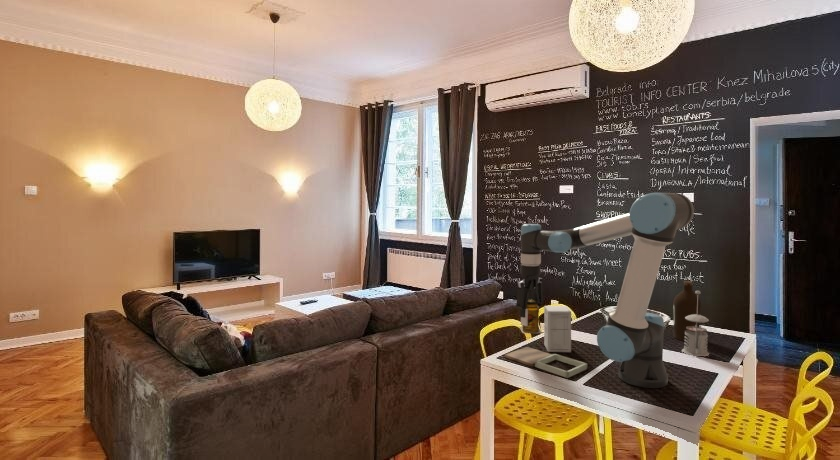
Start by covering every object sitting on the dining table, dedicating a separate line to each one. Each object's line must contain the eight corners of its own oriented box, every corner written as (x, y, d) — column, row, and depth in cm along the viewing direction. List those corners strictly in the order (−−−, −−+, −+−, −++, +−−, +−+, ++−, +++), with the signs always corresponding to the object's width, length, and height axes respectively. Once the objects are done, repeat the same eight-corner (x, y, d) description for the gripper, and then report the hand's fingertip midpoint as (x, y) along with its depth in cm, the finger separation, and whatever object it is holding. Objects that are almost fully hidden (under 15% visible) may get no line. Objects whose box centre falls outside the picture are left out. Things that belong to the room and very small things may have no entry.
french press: (708, 350, 184) (710, 289, 182) (712, 360, 174) (715, 295, 172) (680, 347, 189) (682, 287, 187) (682, 356, 178) (685, 292, 176)
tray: (587, 368, 166) (587, 363, 166) (567, 378, 158) (567, 372, 158) (554, 358, 177) (555, 353, 177) (534, 366, 169) (534, 361, 169)
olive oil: (703, 338, 199) (705, 281, 197) (695, 344, 192) (697, 285, 190) (676, 333, 207) (679, 278, 205) (668, 338, 200) (670, 281, 198)
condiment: (522, 333, 174) (523, 302, 173) (518, 327, 183) (519, 297, 182) (542, 333, 174) (542, 302, 173) (537, 327, 182) (537, 297, 181)
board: (554, 357, 178) (554, 355, 178) (532, 366, 169) (532, 364, 169) (527, 349, 188) (527, 346, 188) (504, 357, 179) (504, 354, 179)
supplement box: (566, 345, 193) (567, 305, 191) (571, 352, 183) (572, 311, 182) (543, 344, 194) (543, 305, 192) (547, 352, 184) (547, 310, 183)
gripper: (537, 260, 184) (536, 317, 186) (506, 265, 172) (506, 326, 174) (553, 262, 179) (552, 321, 181) (522, 268, 167) (521, 330, 169)
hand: (529, 323), depth 177 cm, fingers closed on condiment, 6 cm apart
